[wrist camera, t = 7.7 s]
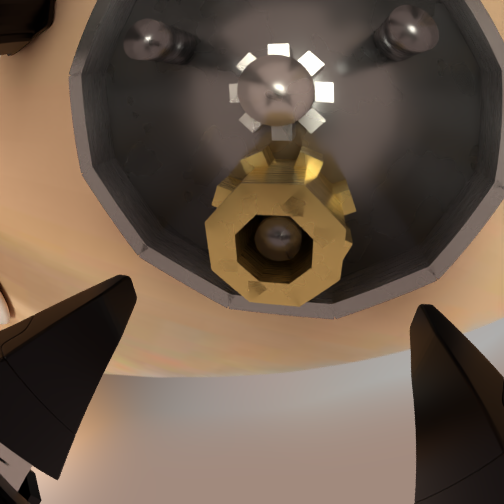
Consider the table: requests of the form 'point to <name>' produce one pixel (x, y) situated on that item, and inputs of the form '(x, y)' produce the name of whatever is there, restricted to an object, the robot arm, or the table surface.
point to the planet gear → (281, 204)
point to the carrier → (295, 129)
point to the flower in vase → (4, 311)
